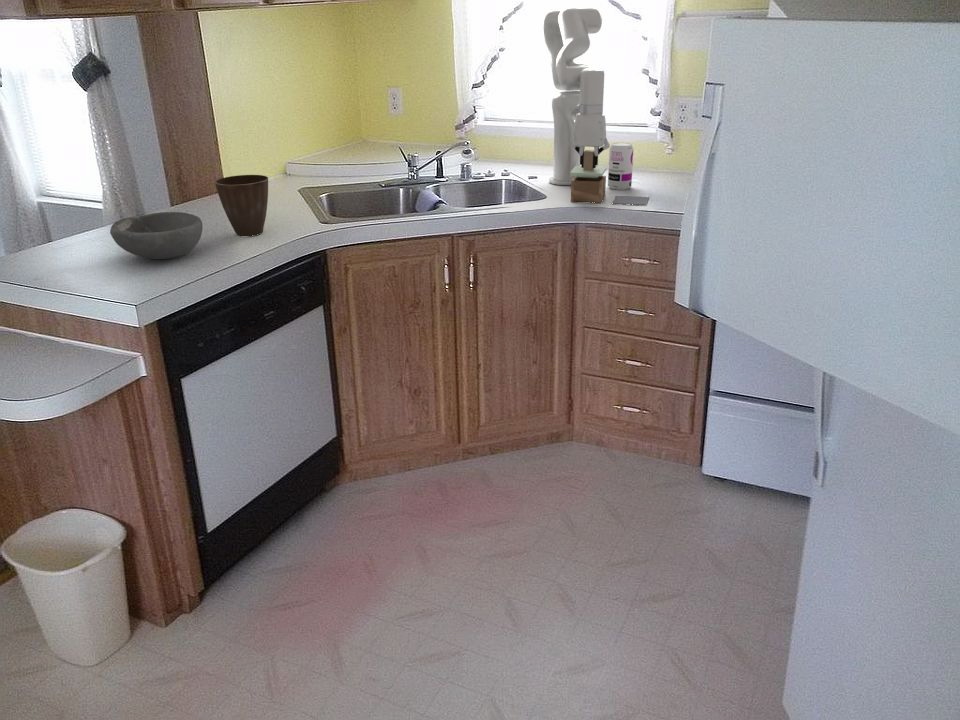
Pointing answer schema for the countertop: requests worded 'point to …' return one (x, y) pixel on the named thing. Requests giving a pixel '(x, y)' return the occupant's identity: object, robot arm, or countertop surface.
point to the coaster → (630, 200)
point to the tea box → (588, 189)
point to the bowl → (158, 234)
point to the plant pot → (244, 202)
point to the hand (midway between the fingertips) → (588, 166)
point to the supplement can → (620, 166)
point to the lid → (588, 167)
